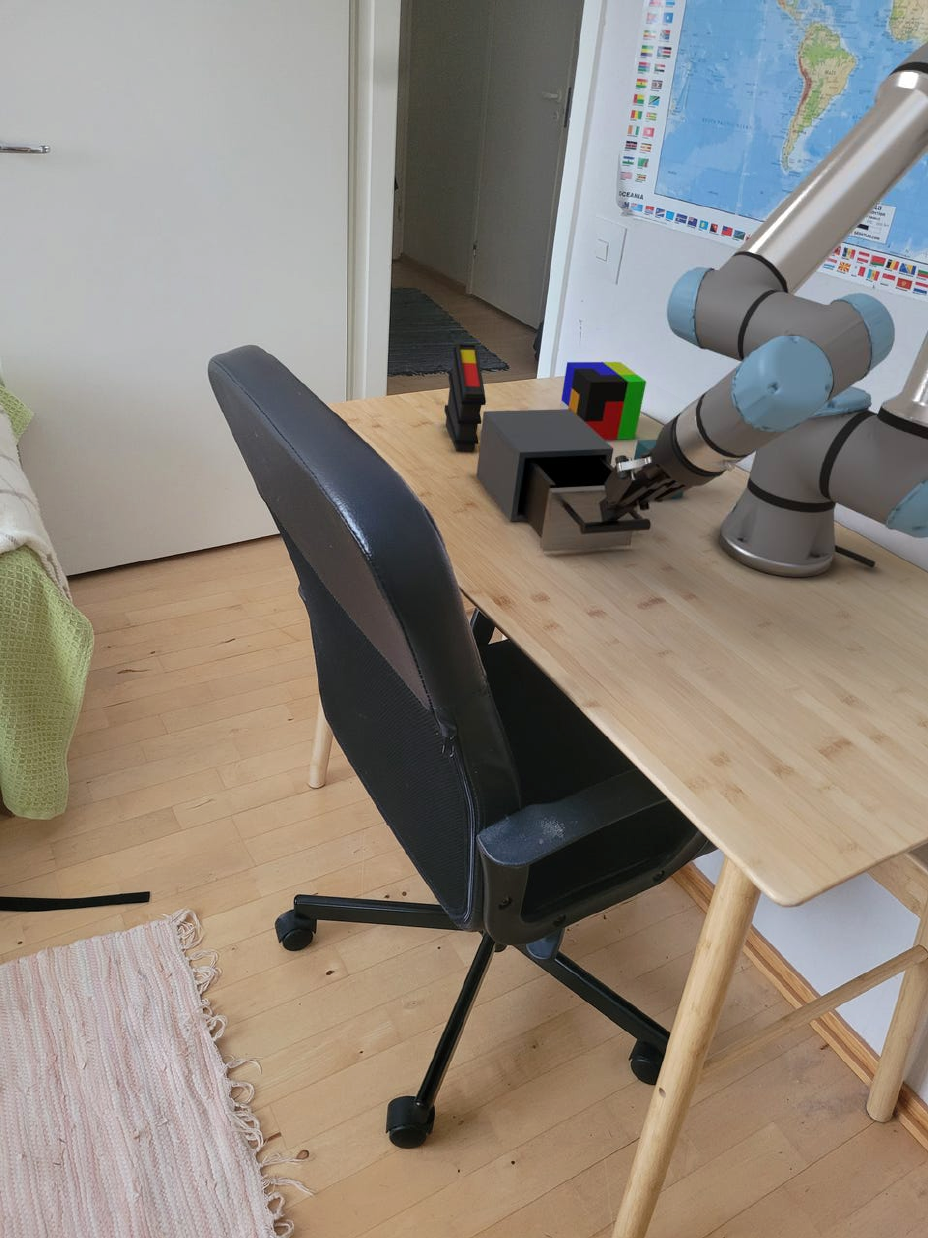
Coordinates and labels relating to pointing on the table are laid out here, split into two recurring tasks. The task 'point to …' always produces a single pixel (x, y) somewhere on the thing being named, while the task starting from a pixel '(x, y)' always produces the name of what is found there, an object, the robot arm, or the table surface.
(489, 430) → the cabinet
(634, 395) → the puzzle toy
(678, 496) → the block
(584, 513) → the drawer
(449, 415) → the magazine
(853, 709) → the table surface
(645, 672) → the table surface
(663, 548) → the table surface
